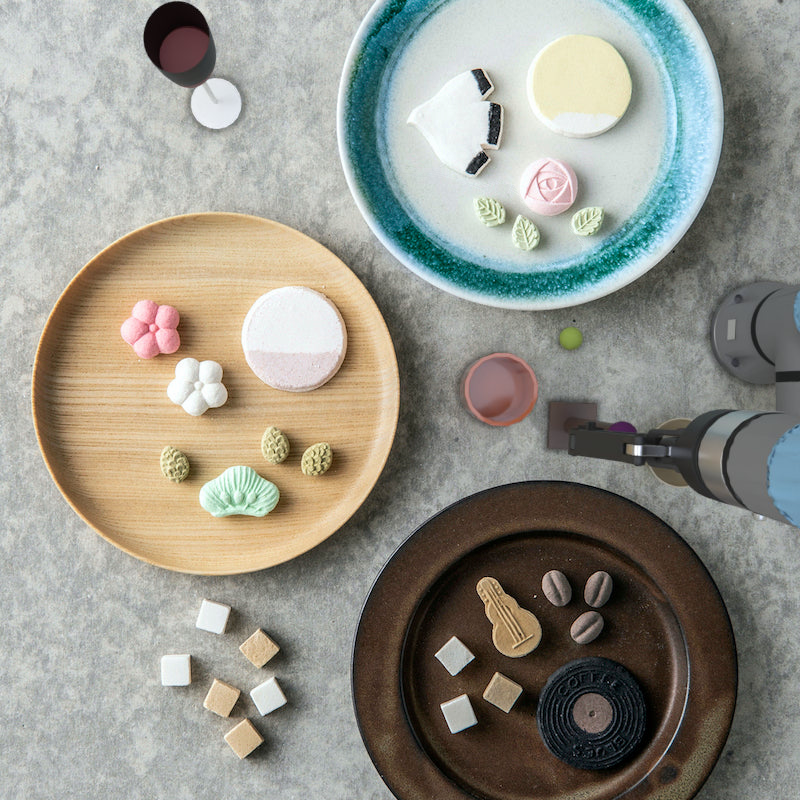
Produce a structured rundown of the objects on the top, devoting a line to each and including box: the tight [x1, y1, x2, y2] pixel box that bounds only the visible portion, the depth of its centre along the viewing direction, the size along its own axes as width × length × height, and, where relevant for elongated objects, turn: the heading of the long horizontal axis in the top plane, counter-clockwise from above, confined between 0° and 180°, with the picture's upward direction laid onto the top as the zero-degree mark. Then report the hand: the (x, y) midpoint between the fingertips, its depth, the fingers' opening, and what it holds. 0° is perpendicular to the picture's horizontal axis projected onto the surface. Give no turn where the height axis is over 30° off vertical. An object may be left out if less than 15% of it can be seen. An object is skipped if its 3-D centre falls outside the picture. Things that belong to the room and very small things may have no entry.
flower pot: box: [645, 417, 694, 489], centre depth 105 cm, size 10×10×7 cm
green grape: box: [558, 326, 584, 351], centre depth 106 cm, size 3×3×3 cm
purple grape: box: [608, 420, 638, 433], centre depth 84 cm, size 3×3×3 cm
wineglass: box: [142, 0, 243, 130], centre depth 96 cm, size 8×9×20 cm
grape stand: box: [546, 401, 615, 450], centre depth 97 cm, size 7×7×22 cm
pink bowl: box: [458, 352, 539, 427], centre depth 104 cm, size 10×10×8 cm
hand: (643, 439), depth 77 cm, fingers open, 13 cm apart
